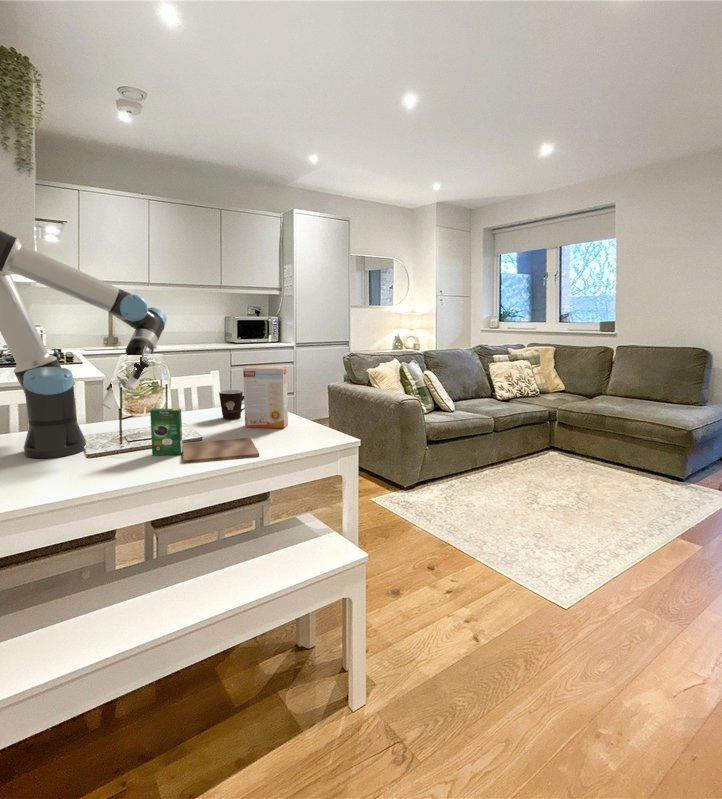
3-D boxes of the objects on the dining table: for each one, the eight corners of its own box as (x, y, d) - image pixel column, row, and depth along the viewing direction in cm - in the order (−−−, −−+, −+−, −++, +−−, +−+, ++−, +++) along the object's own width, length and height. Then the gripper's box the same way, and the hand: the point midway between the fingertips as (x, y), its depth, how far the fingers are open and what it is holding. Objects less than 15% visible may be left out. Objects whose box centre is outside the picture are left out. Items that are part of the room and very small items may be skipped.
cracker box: (288, 424, 176) (287, 366, 173) (284, 429, 170) (283, 368, 167) (250, 423, 178) (248, 365, 174) (244, 427, 172) (242, 367, 168)
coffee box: (184, 452, 142) (181, 407, 140) (182, 455, 139) (179, 409, 137) (154, 453, 141) (151, 407, 139) (152, 456, 138) (148, 410, 136)
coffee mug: (215, 419, 183) (214, 392, 182) (228, 414, 191) (227, 389, 190) (243, 421, 180) (242, 394, 178) (254, 417, 188) (254, 391, 186)
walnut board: (183, 463, 132) (183, 460, 132) (182, 445, 149) (182, 442, 149) (259, 456, 139) (259, 453, 139) (250, 440, 156) (250, 437, 156)
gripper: (174, 335, 153) (153, 386, 139) (131, 369, 166) (108, 419, 152) (152, 320, 149) (128, 371, 135) (110, 357, 162) (85, 407, 148)
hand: (118, 397), depth 144 cm, fingers open, 13 cm apart
